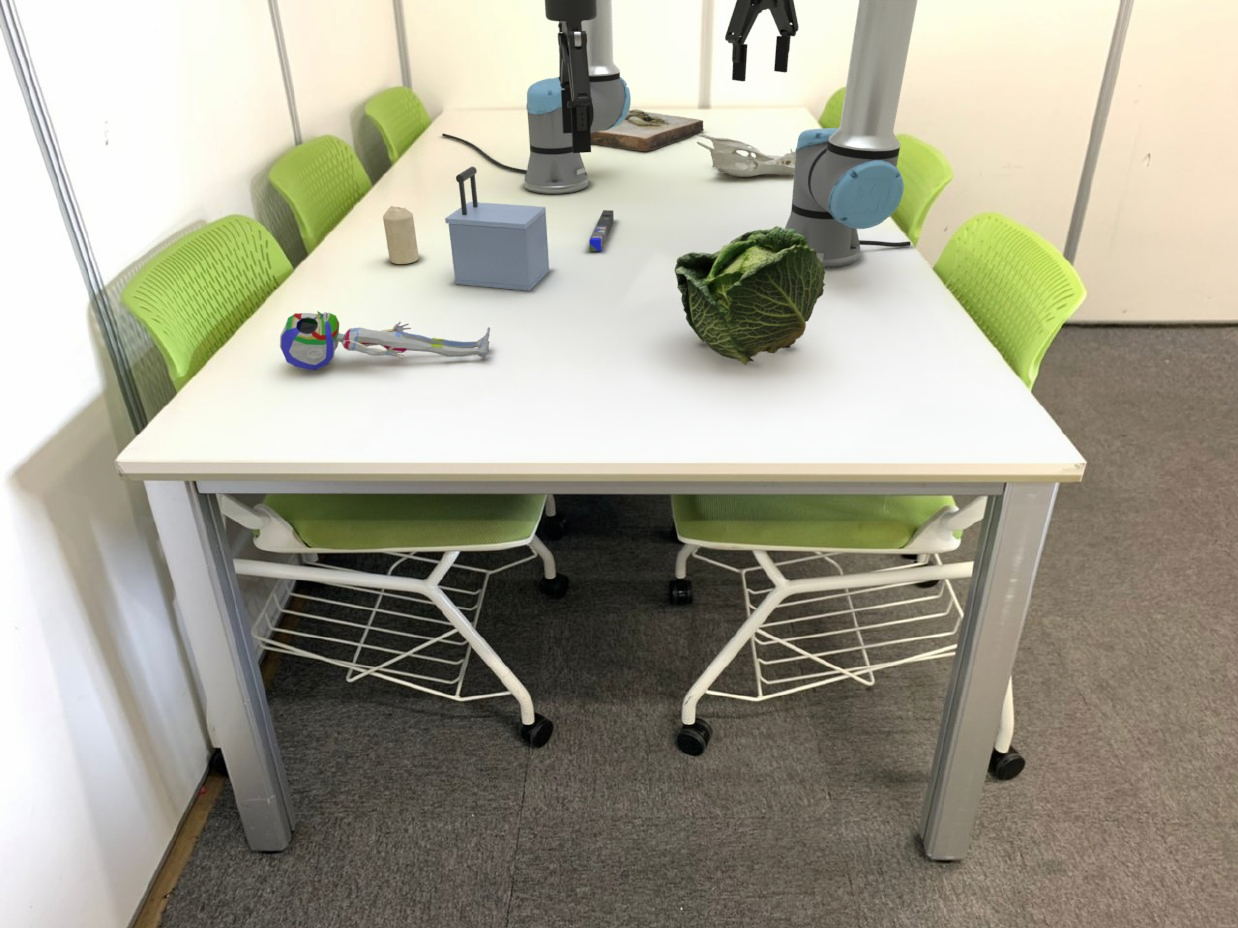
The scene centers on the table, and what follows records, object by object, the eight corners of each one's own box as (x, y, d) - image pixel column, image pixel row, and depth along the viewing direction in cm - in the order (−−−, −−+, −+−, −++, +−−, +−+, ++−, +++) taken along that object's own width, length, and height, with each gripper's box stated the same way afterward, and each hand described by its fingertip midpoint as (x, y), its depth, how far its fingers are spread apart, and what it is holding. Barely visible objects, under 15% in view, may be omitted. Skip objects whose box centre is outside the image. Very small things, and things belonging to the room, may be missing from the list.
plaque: (647, 125, 237) (559, 112, 252) (647, 153, 241) (560, 139, 256) (706, 107, 258) (622, 97, 273) (705, 133, 262) (622, 121, 277)
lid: (445, 223, 155) (439, 177, 151) (469, 206, 164) (464, 162, 160) (525, 229, 152) (521, 182, 148) (545, 212, 160) (543, 167, 156)
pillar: (613, 210, 190) (600, 241, 173) (613, 220, 191) (600, 251, 174) (603, 210, 190) (589, 240, 173) (603, 220, 191) (589, 251, 174)
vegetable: (709, 376, 144) (648, 269, 136) (807, 309, 145) (751, 199, 137) (761, 404, 125) (693, 282, 118) (872, 327, 127) (812, 201, 119)
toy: (489, 339, 129) (271, 322, 124) (486, 391, 133) (275, 376, 129) (491, 312, 137) (286, 295, 133) (487, 362, 142) (290, 347, 137)
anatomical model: (699, 130, 225) (800, 129, 221) (699, 167, 229) (797, 167, 226) (694, 144, 212) (801, 143, 208) (694, 183, 217) (798, 183, 213)
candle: (424, 256, 173) (417, 204, 168) (409, 265, 169) (401, 213, 164) (399, 253, 175) (391, 202, 170) (384, 262, 171) (375, 210, 165)
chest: (455, 284, 161) (448, 224, 155) (478, 265, 169) (472, 207, 164) (529, 291, 158) (525, 229, 152) (549, 271, 166) (545, 212, 160)
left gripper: (742, -43, 158) (735, 86, 169) (823, -49, 172) (812, 70, 184) (709, -44, 162) (705, 82, 173) (791, -50, 177) (782, 66, 188)
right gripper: (536, -17, 139) (545, 126, 150) (552, -3, 118) (561, 162, 129) (585, -19, 140) (589, 124, 151) (609, -4, 119) (612, 160, 130)
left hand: (760, 76), depth 179 cm, fingers open, 13 cm apart
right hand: (576, 142), depth 140 cm, fingers open, 13 cm apart
